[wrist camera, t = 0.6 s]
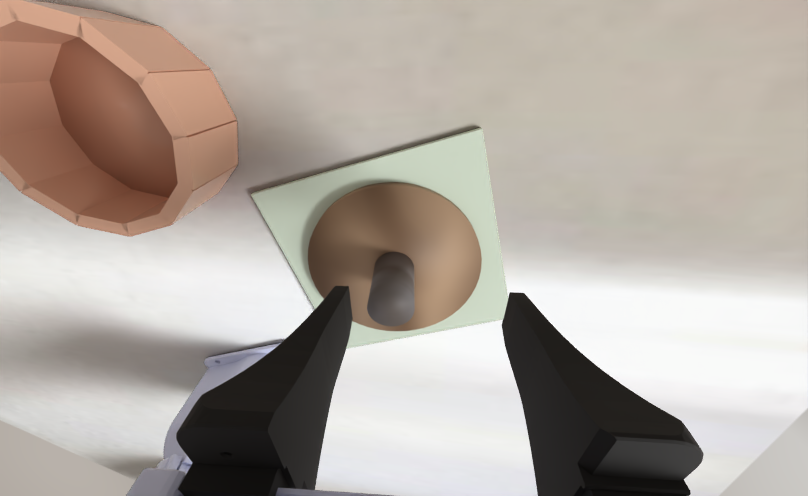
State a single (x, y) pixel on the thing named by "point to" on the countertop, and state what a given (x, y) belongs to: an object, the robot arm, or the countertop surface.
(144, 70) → the bowl
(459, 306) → the lid
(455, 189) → the mat
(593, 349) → the countertop surface
